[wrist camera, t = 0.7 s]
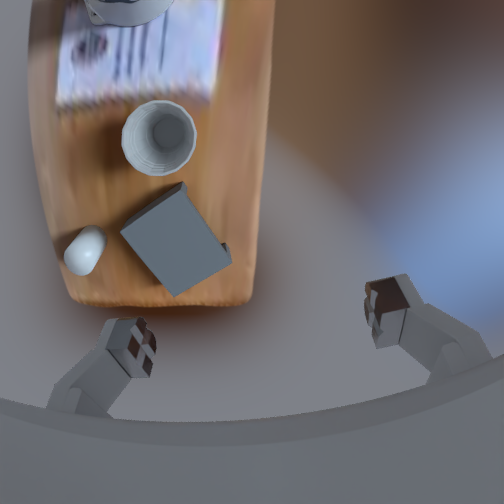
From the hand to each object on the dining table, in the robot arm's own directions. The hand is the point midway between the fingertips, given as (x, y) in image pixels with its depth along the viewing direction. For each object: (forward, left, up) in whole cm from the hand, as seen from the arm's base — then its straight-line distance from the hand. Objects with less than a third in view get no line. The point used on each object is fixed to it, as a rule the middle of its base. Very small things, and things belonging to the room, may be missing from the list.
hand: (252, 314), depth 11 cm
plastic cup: (-7, -5, -46) cm, 47 cm away
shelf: (+10, -14, -46) cm, 49 cm away
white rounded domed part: (+1, -29, -46) cm, 54 cm away
